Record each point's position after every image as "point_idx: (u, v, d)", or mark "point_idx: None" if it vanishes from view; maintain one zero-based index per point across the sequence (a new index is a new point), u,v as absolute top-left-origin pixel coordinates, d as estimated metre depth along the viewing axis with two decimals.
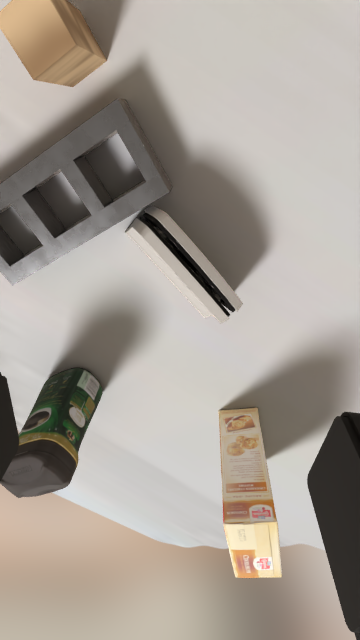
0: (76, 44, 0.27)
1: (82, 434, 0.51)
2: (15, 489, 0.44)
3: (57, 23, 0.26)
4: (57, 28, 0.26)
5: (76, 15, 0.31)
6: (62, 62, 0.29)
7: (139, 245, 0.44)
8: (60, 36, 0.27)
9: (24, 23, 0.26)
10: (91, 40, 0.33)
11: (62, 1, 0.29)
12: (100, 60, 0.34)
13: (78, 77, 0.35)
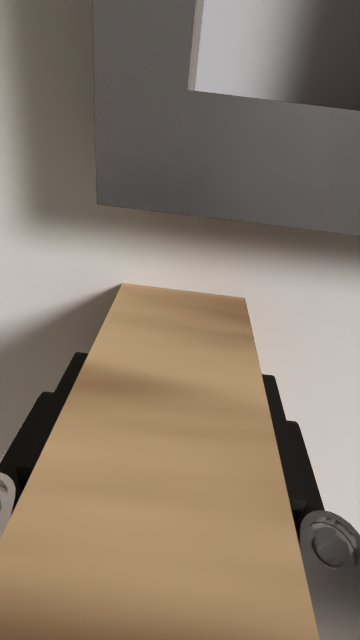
0: None
1: None
2: None
3: None
4: None
5: None
6: (132, 552, 0.05)
7: None
8: None
9: None
10: None
11: None
12: (120, 306, 0.11)
13: (206, 317, 0.11)
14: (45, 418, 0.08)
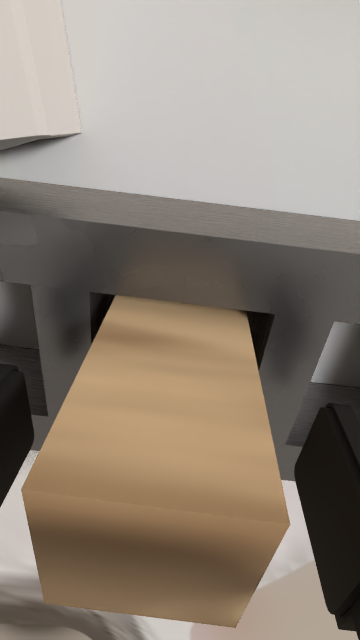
0: (30, 474, 0.06)
1: None
2: None
3: (54, 545, 0.07)
4: (63, 540, 0.06)
5: None
6: (148, 443, 0.07)
7: (14, 40, 0.09)
8: (67, 527, 0.06)
9: (162, 590, 0.07)
10: None
11: None
12: None
13: None
14: None
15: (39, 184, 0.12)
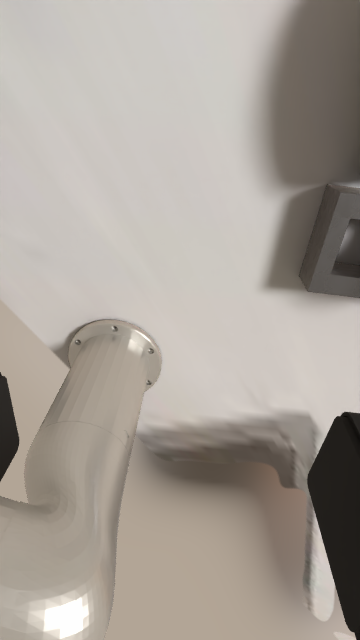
0: None
1: None
2: None
3: None
4: None
5: None
6: None
7: None
8: None
9: None
10: None
11: None
12: None
13: None
14: None
15: None
